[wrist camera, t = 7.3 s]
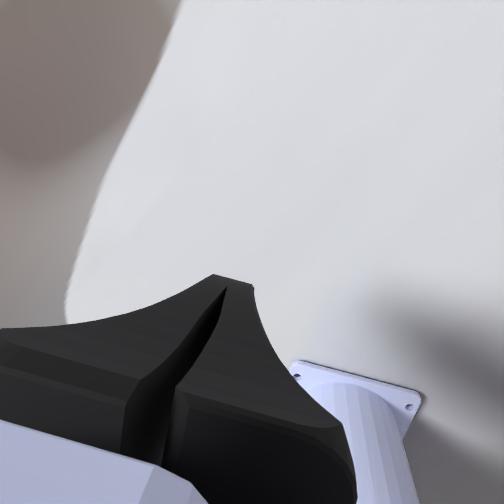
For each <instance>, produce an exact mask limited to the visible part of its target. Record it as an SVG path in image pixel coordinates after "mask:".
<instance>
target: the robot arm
mask: <svg viewBox="0 0 504 504" xmlns="http://www.w3.org/2000/svg"><path fill="white" fill-rule="evenodd" d="M294 374H299V375H300V376H299V377H296V376H294ZM408 404H412V405H411V406H406V405H408ZM420 404H421V397H420V395H419V393H418V392H416V391H413V390H409V389H405V388H402V387H398V386H394V385H390V384H387V383H383V382H379V381H375V380H371V379H368V378H364V377H360V376H356V375H353V374H349V373H345V372H341V371H338V370H334V369H330V368H326V367H322V366H319V365H315V364H311V363H307V362H304V361H295V362H293V363H292V365H291V368H290V371H288V370H287V369H286V367H285V366H284V365H283V363H282V362H281V361H280V359H279V358H278V356H277V354H276V353H275V351H274V349H273V347H272V345H271V344H270V342H269V339H268V337H267V335H266V333H265V330H264V328H263V326H262V323H261V320H260V317H259V314H258V311H257V307H256V303H255V297H254V287H253V286H252V284H249V283H245V282H241V281H238V280H234V279H230V278H226V277H222V276H219V275H215V274H212V275H211V276H209V277H207V278H205V279H203V280H202V281H200V282H198V283H196V284H195V285H193V286H191V287H189V288H188V289H186V290H184V291H182V292H180V293H178V294H176V295H174V296H172V297H170V298H167V299H165V300H163V301H161V302H159V303H156V304H154V305H151V306H148V307H146V308H143V309H139V310H136V311H133V312H130V313H126V314H122V315H118V316H114V317H109V318H105V319H100V320H96V321H90V322H83V323H77V324H68V325H60V326H49V327H29V328H2V329H0V504H420V503H419V499H418V496H417V492H416V488H415V485H414V481H413V478H412V474H411V471H410V467H409V463H408V460H407V456H406V453H405V449H404V446H403V442H402V440H403V438H404V436H405V434H406V432H407V430H408V428H409V426H410V424H411V422H412V420H413V418H414V416H415V414H416V412H417V410H418V408H419V406H420Z"/></svg>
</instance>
